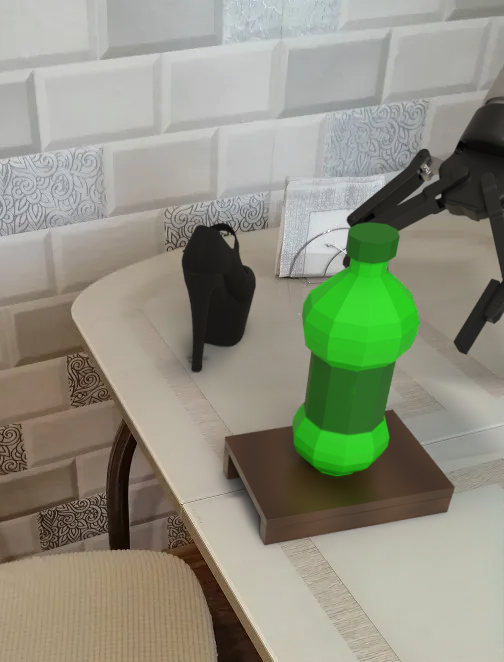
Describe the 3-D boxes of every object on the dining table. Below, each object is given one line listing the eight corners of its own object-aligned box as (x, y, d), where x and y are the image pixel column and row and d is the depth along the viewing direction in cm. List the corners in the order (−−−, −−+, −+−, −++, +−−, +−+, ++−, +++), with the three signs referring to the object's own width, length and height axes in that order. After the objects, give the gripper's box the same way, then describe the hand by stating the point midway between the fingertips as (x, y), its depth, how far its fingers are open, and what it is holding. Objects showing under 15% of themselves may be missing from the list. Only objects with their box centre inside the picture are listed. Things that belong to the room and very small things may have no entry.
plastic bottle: (377, 431, 88) (424, 208, 71) (390, 495, 80) (446, 260, 63) (285, 428, 89) (310, 207, 72) (289, 490, 81) (318, 259, 64)
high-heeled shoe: (262, 317, 117) (273, 181, 104) (217, 385, 105) (223, 239, 91) (211, 308, 120) (215, 174, 107) (161, 372, 107) (159, 229, 94)
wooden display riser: (385, 443, 94) (392, 409, 91) (444, 522, 84) (455, 487, 81) (222, 470, 91) (224, 436, 88) (263, 556, 81) (267, 520, 78)
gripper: (389, 76, 79) (280, 268, 82) (653, 127, 65) (511, 357, 68) (409, 120, 85) (306, 297, 88) (654, 175, 71) (524, 384, 74)
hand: (395, 323), depth 78 cm, fingers open, 13 cm apart
